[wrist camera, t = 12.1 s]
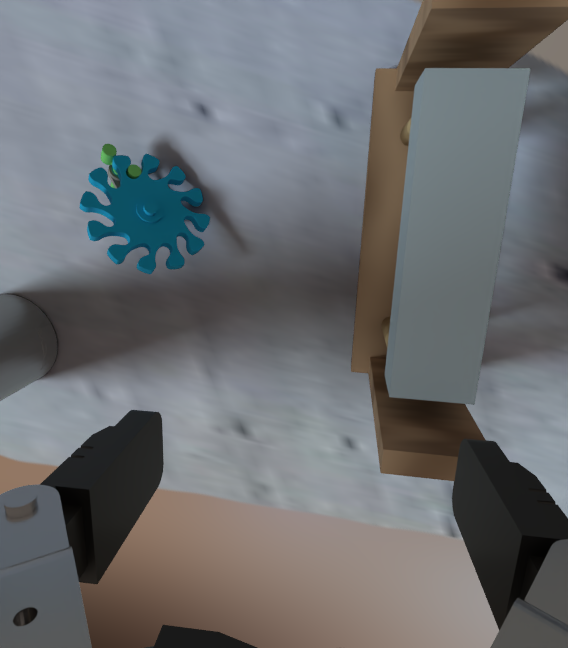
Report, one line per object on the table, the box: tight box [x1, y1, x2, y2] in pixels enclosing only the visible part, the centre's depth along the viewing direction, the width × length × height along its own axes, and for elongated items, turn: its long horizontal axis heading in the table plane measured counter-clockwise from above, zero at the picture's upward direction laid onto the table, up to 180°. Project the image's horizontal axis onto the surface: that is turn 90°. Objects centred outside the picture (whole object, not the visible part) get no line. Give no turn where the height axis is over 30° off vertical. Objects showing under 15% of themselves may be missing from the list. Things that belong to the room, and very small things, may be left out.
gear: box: [80, 144, 210, 274], centre depth 37 cm, size 11×6×10 cm
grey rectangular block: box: [385, 68, 531, 405], centre depth 26 cm, size 18×5×4 cm, turn 178°
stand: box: [351, 0, 568, 481], centre depth 29 cm, size 9×24×16 cm, turn 178°
